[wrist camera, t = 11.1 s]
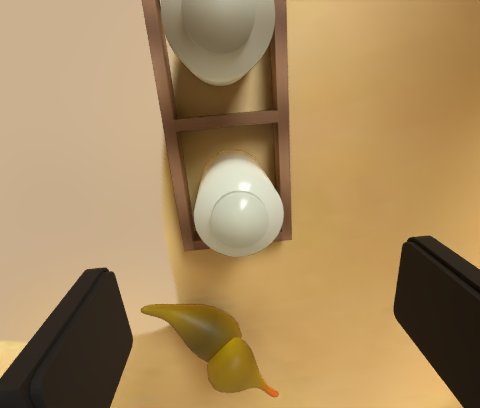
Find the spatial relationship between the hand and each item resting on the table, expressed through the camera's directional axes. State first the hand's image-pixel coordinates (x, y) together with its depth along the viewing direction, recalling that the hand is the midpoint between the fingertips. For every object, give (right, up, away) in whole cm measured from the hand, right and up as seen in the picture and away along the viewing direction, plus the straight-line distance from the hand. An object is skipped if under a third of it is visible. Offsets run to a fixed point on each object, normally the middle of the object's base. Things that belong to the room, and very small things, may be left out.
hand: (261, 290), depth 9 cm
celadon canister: (-1, +5, +15) cm, 16 cm away
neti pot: (-3, -9, +20) cm, 22 cm away
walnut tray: (-2, +9, +13) cm, 16 cm away
